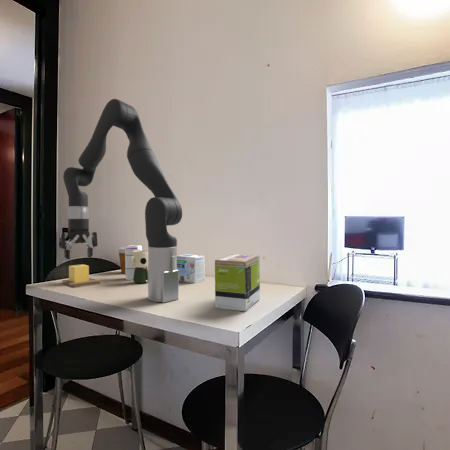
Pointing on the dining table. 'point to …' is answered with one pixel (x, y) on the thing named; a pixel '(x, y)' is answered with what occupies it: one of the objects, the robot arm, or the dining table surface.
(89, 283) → the post block
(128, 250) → the syrup box
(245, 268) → the tea box
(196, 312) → the dining table surface
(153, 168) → the robot arm
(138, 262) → the character mug
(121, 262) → the disposable coffee cup
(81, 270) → the yellow cube
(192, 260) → the light bulb box
